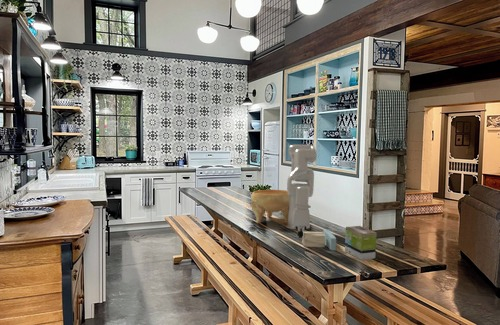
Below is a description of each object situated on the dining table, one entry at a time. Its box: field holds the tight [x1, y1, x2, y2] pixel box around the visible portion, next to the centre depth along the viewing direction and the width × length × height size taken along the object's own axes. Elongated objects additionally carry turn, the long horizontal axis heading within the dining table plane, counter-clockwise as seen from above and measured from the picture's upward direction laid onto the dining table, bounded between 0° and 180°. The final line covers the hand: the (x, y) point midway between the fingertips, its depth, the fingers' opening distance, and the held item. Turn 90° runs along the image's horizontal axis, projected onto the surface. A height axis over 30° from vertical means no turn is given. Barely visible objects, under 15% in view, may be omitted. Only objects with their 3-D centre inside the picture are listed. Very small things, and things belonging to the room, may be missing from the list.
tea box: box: [344, 225, 378, 261], centre depth 204 cm, size 15×10×15 cm, turn 21°
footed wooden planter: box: [250, 189, 289, 224], centre depth 280 cm, size 34×35×23 cm
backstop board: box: [322, 229, 337, 251], centre depth 221 cm, size 20×3×7 cm, turn 1°
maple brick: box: [301, 231, 326, 248], centre depth 221 cm, size 8×12×7 cm, turn 91°
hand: (300, 237), depth 220 cm, fingers closed
